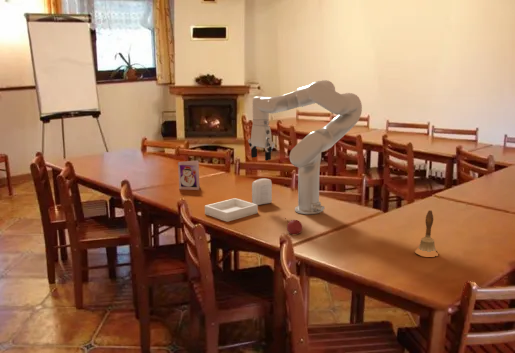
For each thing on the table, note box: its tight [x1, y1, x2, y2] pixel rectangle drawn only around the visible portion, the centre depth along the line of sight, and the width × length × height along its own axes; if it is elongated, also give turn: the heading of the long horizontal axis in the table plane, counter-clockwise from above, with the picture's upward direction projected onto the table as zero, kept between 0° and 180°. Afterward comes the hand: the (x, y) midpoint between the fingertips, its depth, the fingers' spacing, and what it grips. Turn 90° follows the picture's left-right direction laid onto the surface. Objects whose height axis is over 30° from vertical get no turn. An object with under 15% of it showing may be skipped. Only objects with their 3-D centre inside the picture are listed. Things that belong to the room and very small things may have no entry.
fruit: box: [285, 218, 303, 235], centre depth 206 cm, size 6×6×8 cm
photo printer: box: [251, 178, 273, 206], centre depth 246 cm, size 10×4×12 cm, turn 123°
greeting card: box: [177, 160, 201, 191], centre depth 278 cm, size 11×7×15 cm, turn 76°
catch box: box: [204, 197, 259, 222], centre depth 232 cm, size 16×18×4 cm
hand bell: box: [417, 210, 437, 252], centre depth 180 cm, size 8×8×16 cm
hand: (261, 158), depth 243 cm, fingers open, 9 cm apart
